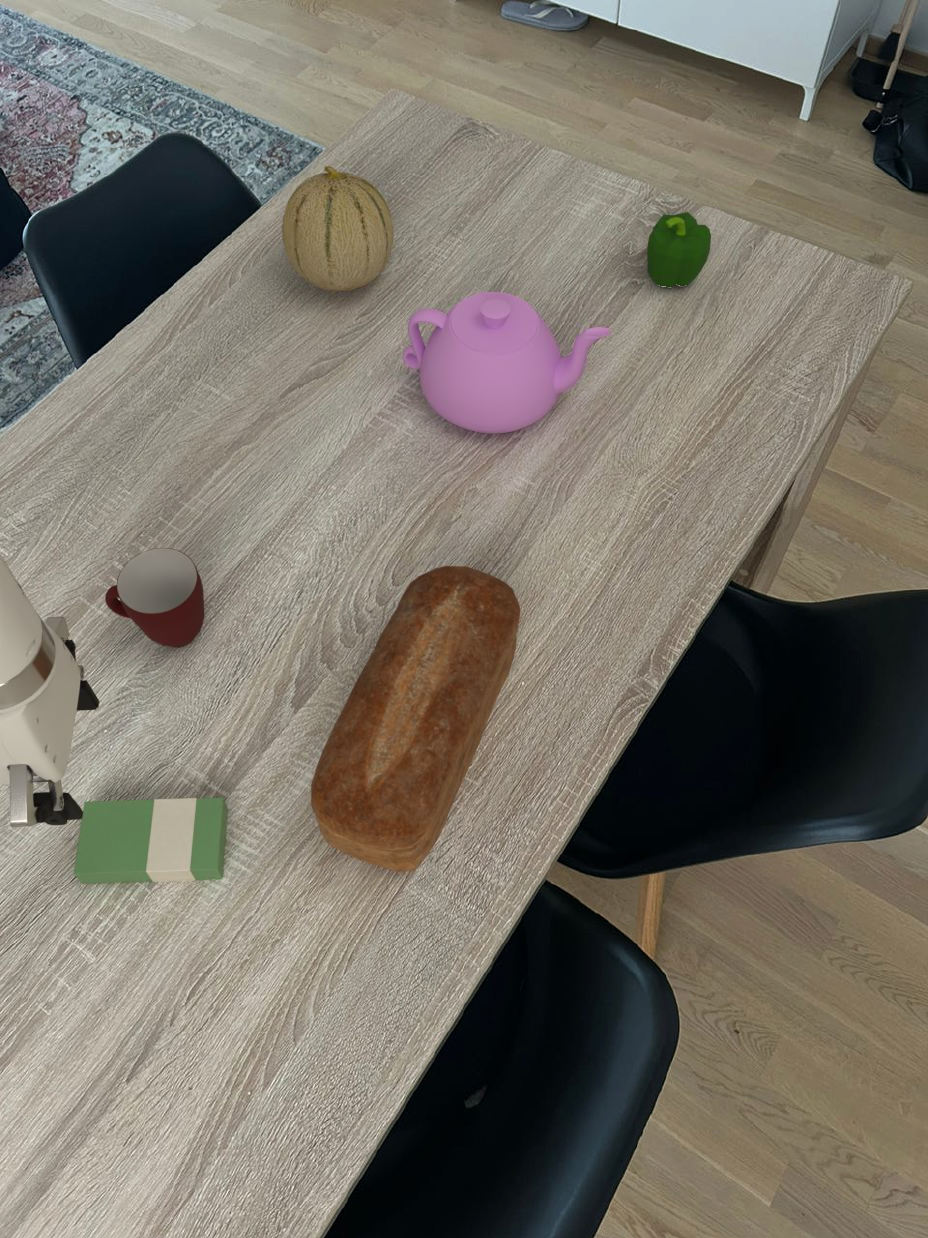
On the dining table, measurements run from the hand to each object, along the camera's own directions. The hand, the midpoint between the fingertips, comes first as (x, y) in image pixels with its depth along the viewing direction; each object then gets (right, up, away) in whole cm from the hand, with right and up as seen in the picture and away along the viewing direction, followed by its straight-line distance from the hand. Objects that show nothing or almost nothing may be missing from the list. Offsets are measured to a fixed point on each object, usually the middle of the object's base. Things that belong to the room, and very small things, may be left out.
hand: (72, 760), depth 85 cm
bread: (+28, -1, +22) cm, 35 cm away
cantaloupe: (+15, +58, +58) cm, 83 cm away
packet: (+2, -10, +15) cm, 18 cm away
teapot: (+36, +40, +47) cm, 72 cm away
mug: (0, +10, +28) cm, 29 cm away
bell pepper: (+60, +59, +59) cm, 103 cm away
